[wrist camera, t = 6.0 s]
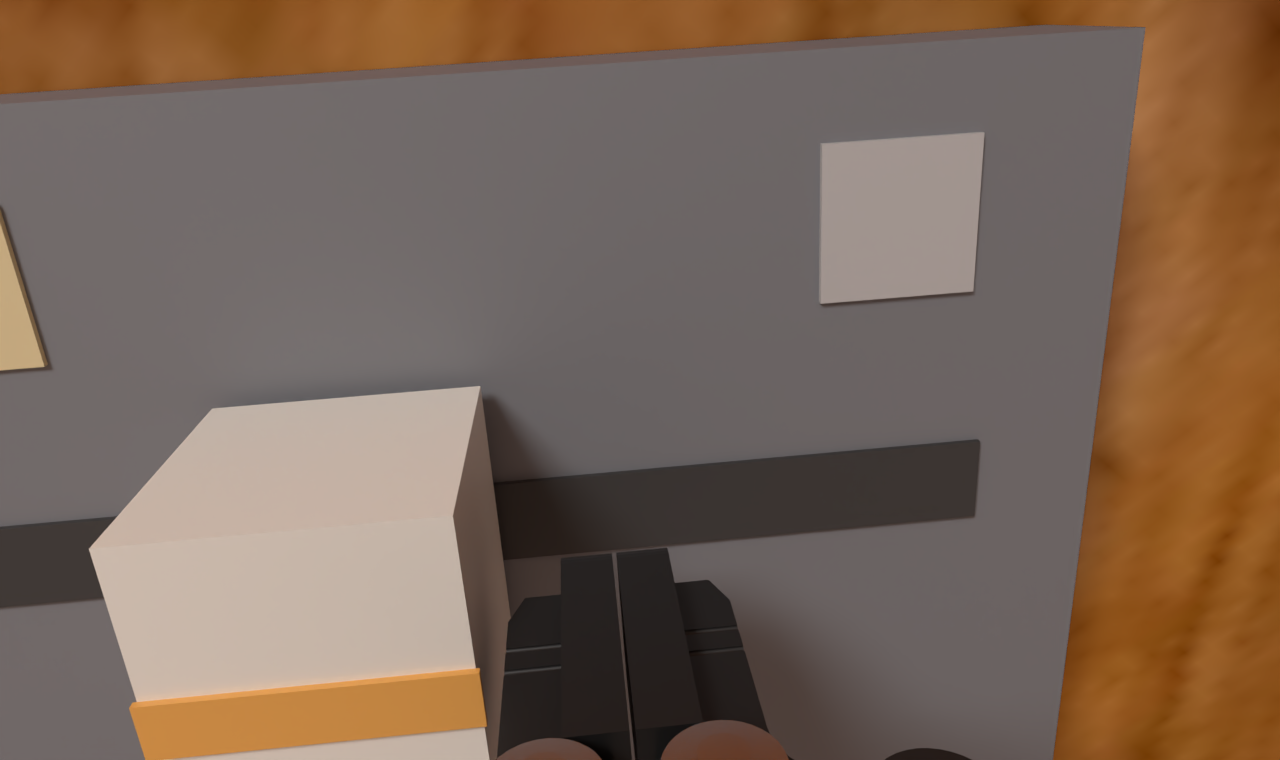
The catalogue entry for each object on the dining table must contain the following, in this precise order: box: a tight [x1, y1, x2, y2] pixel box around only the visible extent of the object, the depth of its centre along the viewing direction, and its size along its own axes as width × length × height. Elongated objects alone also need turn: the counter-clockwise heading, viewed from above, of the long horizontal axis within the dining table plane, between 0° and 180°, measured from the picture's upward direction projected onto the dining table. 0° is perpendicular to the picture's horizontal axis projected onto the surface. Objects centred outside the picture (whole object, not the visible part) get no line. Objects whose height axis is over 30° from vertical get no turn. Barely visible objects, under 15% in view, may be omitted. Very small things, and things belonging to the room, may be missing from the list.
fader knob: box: [89, 386, 511, 760], centre depth 13 cm, size 4×5×4 cm
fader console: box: [0, 25, 1145, 760], centre depth 17 cm, size 21×14×3 cm, turn 94°
